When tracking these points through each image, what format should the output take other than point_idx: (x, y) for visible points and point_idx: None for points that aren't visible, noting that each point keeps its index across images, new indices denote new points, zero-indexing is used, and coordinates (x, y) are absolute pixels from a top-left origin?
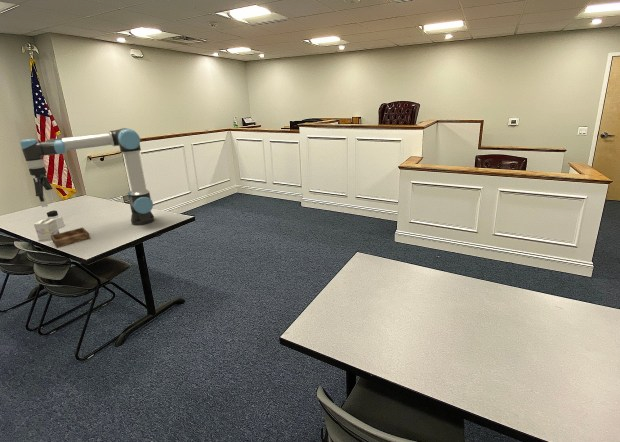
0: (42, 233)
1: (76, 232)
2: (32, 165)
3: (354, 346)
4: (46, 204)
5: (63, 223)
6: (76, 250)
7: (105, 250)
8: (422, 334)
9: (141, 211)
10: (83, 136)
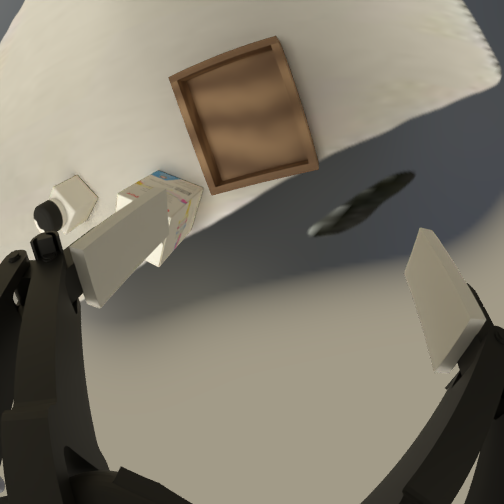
0: (184, 226)
1: (191, 102)
2: None
3: None
4: (439, 244)
5: (72, 179)
6: (403, 93)
7: (460, 15)
8: None
9: None
10: None
